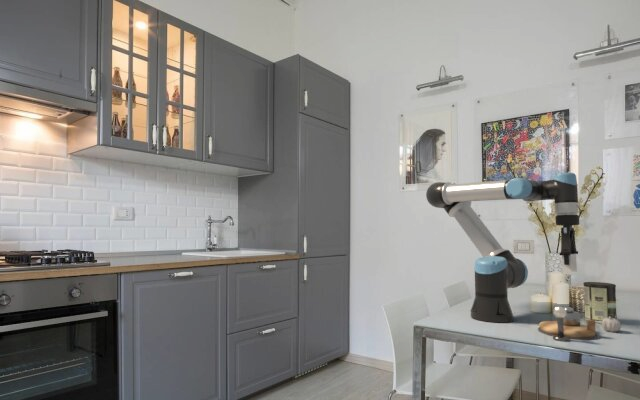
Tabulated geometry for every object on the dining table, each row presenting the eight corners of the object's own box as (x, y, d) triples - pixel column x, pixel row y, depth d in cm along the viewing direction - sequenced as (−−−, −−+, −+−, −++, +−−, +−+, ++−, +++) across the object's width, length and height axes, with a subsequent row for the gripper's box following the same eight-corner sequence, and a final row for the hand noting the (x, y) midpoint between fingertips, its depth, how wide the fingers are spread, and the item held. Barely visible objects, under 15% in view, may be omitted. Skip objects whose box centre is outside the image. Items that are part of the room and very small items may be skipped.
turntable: (534, 332, 137) (534, 317, 137) (544, 323, 149) (544, 310, 149) (592, 340, 127) (591, 325, 127) (597, 331, 139) (597, 316, 139)
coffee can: (609, 318, 161) (607, 282, 162) (622, 324, 151) (621, 285, 152) (579, 317, 163) (578, 281, 164) (591, 323, 153) (590, 284, 154)
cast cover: (555, 324, 141) (554, 308, 141) (558, 320, 146) (558, 305, 147) (579, 327, 137) (578, 310, 137) (581, 323, 142) (581, 307, 142)
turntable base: (532, 333, 137) (532, 332, 137) (543, 324, 150) (543, 323, 150) (594, 342, 126) (594, 341, 126) (599, 332, 139) (599, 331, 139)
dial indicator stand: (551, 339, 129) (550, 306, 130) (555, 335, 135) (555, 303, 135) (567, 342, 126) (567, 308, 127) (571, 337, 132) (570, 305, 132)
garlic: (612, 333, 137) (611, 318, 138) (597, 330, 142) (596, 314, 143) (625, 332, 139) (625, 317, 139) (610, 328, 144) (610, 313, 144)
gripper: (574, 212, 140) (578, 276, 138) (582, 215, 160) (585, 270, 158) (549, 213, 145) (552, 274, 143) (560, 216, 164) (563, 269, 162)
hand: (570, 272), depth 150 cm, fingers open, 13 cm apart
